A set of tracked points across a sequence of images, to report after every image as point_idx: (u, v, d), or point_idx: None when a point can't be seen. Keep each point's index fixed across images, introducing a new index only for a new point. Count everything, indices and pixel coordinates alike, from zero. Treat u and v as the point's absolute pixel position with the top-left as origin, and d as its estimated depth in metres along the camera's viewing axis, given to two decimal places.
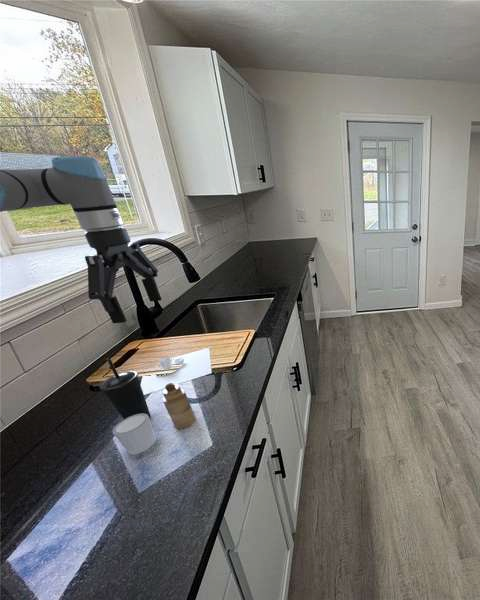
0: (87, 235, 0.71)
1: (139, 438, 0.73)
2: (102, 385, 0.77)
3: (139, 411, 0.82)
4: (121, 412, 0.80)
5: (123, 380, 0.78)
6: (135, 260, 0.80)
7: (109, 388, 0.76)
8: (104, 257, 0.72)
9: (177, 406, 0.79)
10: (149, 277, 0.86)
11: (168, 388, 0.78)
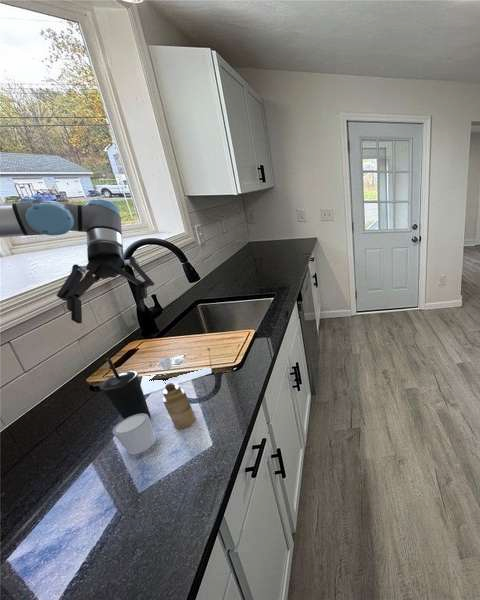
0: (117, 246, 0.89)
1: (139, 438, 0.73)
2: (102, 385, 0.77)
3: (139, 411, 0.82)
4: (121, 412, 0.80)
5: (123, 380, 0.78)
6: None
7: (109, 388, 0.76)
8: (126, 264, 0.90)
9: (177, 406, 0.79)
10: None
11: (168, 388, 0.78)
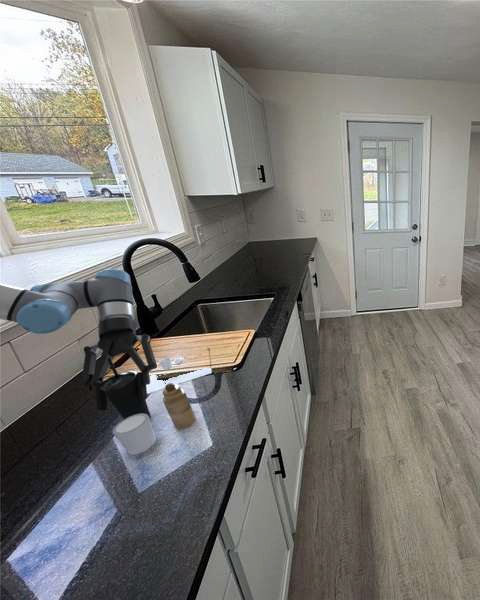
0: (129, 319, 0.86)
1: (139, 438, 0.73)
2: (102, 385, 0.77)
3: (139, 411, 0.82)
4: (121, 412, 0.80)
5: (123, 380, 0.78)
6: None
7: (109, 388, 0.76)
8: None
9: (177, 406, 0.79)
10: (100, 383, 0.80)
11: (168, 388, 0.78)
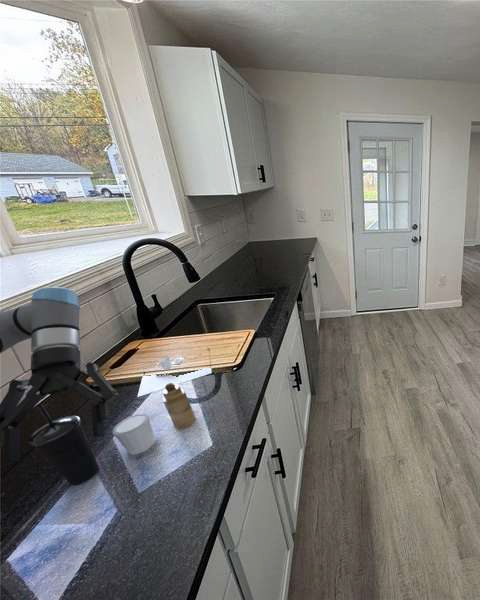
0: (72, 349, 0.70)
1: (139, 438, 0.73)
2: (32, 438, 0.62)
3: (82, 466, 0.67)
4: (58, 469, 0.65)
5: (58, 431, 0.63)
6: None
7: (39, 442, 0.61)
8: (82, 371, 0.71)
9: (177, 406, 0.79)
10: (13, 428, 0.64)
11: (168, 388, 0.78)
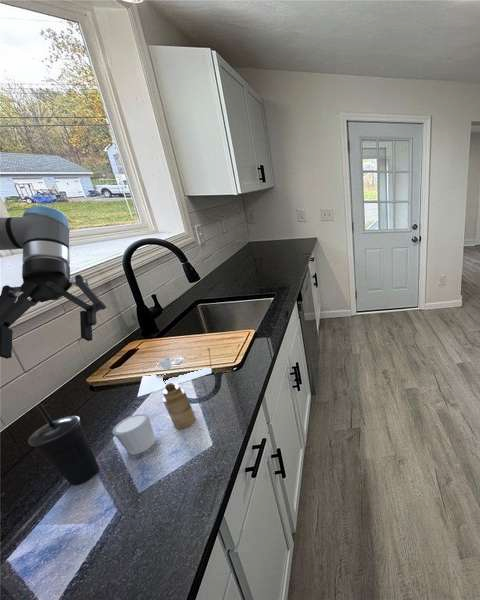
0: (61, 262, 0.74)
1: (139, 438, 0.73)
2: (32, 438, 0.62)
3: (82, 466, 0.67)
4: (58, 469, 0.65)
5: (58, 431, 0.63)
6: None
7: (39, 442, 0.61)
8: None
9: (177, 406, 0.79)
10: None
11: (168, 388, 0.78)
